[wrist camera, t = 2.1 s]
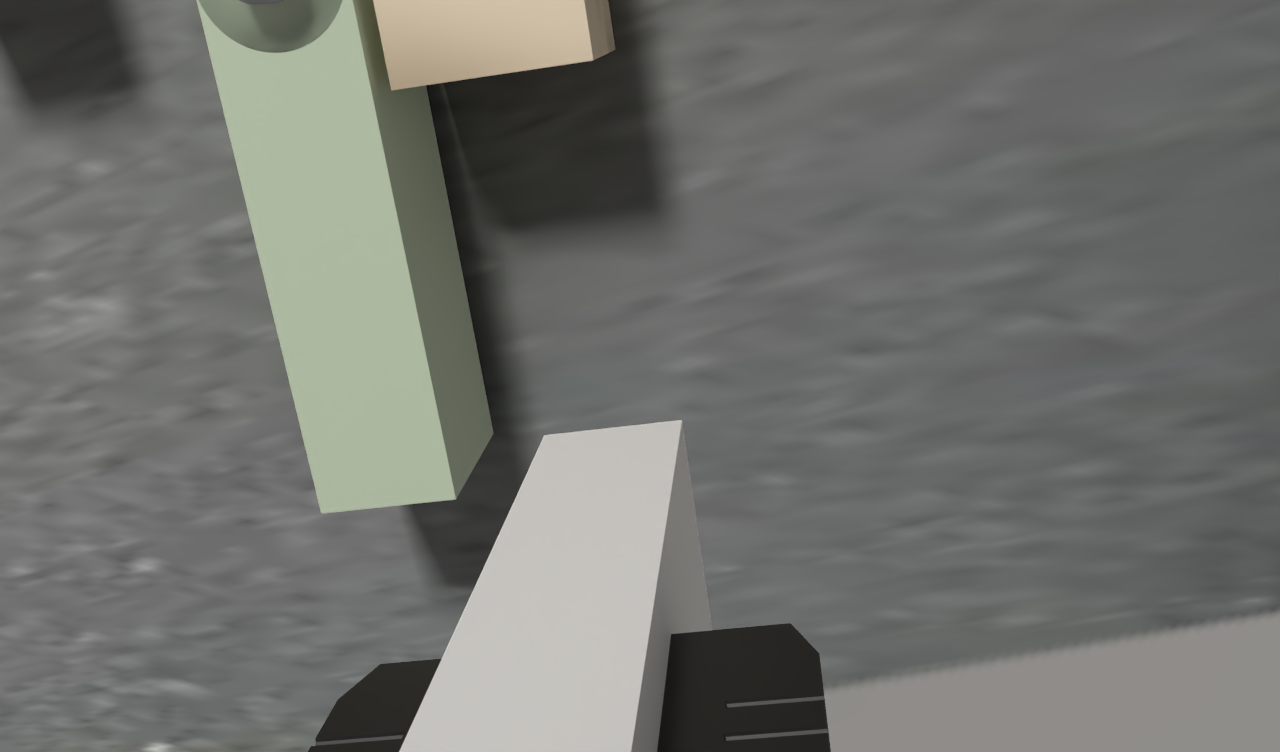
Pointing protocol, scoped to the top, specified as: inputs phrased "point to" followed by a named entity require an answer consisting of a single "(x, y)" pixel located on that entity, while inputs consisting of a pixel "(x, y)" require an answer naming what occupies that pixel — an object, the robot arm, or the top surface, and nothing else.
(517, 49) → the stool frame
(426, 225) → the hinged leg
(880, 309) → the top surface
